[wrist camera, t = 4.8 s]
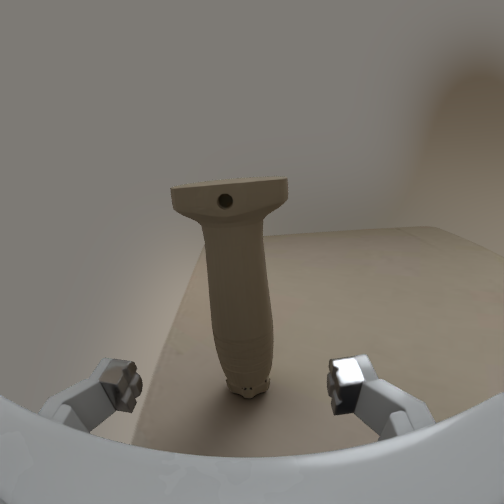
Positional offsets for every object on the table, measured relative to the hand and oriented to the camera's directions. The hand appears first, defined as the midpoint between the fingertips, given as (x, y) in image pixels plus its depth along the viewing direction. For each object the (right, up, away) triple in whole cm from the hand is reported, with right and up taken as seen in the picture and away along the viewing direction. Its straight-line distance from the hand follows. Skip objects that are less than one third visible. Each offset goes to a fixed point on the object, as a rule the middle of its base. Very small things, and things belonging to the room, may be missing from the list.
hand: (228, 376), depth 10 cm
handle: (+1, -6, +9) cm, 11 cm away
